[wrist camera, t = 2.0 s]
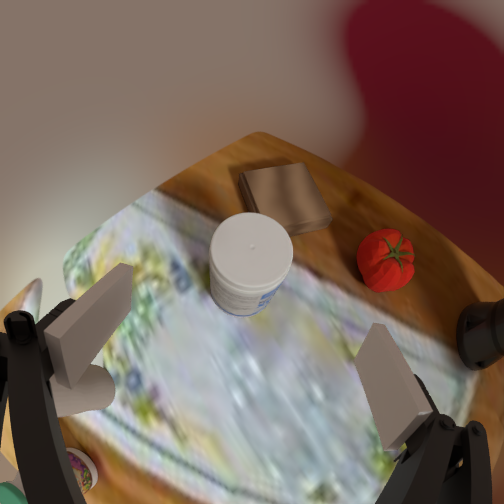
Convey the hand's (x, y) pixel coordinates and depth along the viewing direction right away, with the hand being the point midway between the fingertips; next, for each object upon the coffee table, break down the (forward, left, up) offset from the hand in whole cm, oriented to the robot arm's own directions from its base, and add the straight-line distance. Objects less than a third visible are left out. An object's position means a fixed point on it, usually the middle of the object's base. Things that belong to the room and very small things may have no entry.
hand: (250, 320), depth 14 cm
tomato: (-29, -5, -29) cm, 41 cm away
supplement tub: (-5, -9, -29) cm, 30 cm away
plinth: (-17, -22, -28) cm, 40 cm away
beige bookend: (+25, 0, -29) cm, 38 cm away
